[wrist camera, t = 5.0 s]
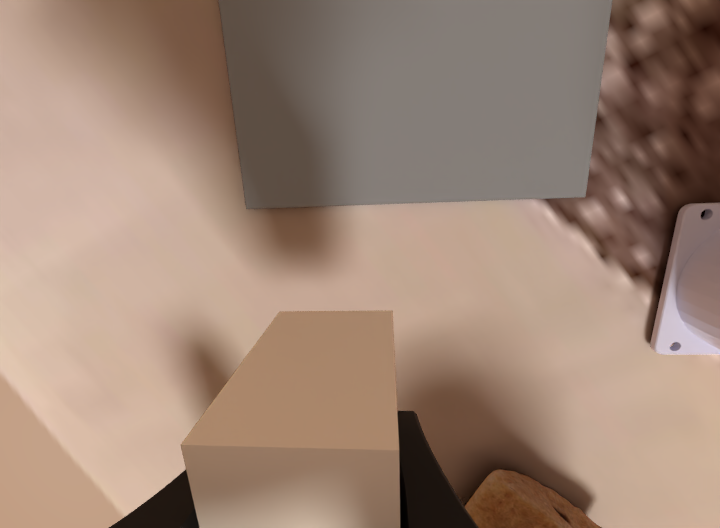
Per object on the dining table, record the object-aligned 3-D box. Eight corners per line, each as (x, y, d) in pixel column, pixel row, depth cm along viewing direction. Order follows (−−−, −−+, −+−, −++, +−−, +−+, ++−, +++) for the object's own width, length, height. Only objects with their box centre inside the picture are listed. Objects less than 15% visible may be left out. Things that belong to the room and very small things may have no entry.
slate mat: (634, -209, 13) (642, -221, 12) (580, 196, 17) (585, 197, 16) (202, -154, 14) (196, -163, 14) (249, 208, 18) (246, 208, 18)
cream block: (392, 310, 12) (399, 450, 6) (395, 471, 13) (402, 696, 8) (279, 311, 12) (180, 444, 6) (297, 468, 14) (235, 682, 8)
